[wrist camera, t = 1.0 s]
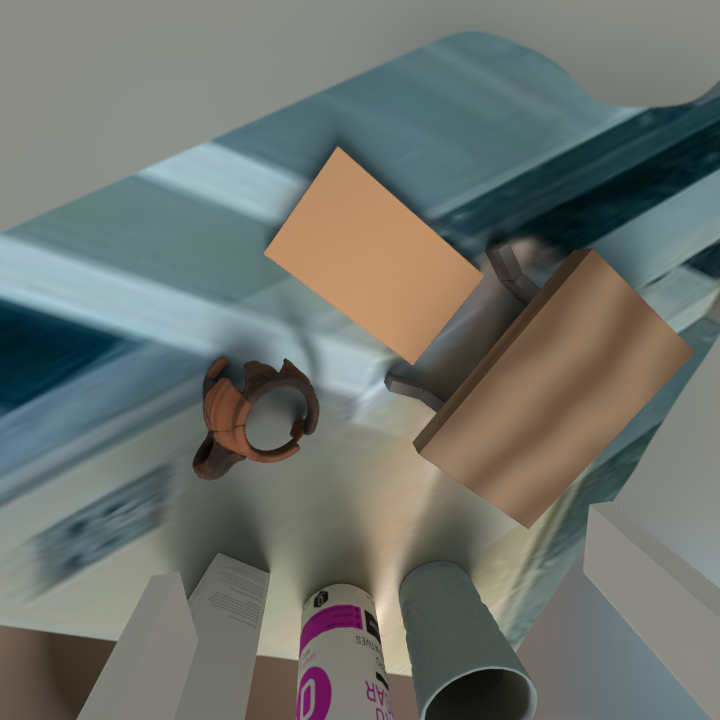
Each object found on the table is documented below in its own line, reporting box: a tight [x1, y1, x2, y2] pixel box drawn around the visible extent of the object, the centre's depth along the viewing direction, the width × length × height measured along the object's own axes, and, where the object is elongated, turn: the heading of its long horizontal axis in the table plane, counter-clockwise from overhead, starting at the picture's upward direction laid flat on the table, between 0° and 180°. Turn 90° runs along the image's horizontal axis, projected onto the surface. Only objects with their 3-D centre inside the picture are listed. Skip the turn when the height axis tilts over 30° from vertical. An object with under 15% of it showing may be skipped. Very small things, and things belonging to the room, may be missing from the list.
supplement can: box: [296, 584, 393, 720], centre depth 33 cm, size 8×8×15 cm
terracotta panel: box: [264, 147, 485, 365], centre depth 31 cm, size 16×10×2 cm, turn 52°
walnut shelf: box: [384, 243, 694, 529], centre depth 32 cm, size 17×20×7 cm
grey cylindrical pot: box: [399, 561, 537, 720], centre depth 35 cm, size 10×10×12 cm
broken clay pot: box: [192, 357, 319, 480], centre depth 31 cm, size 12×10×8 cm
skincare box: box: [174, 553, 270, 720], centre depth 31 cm, size 8×7×16 cm
